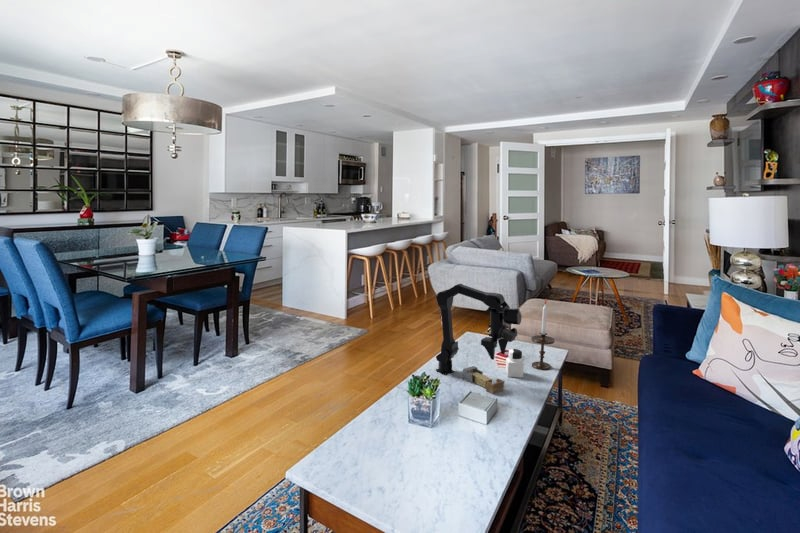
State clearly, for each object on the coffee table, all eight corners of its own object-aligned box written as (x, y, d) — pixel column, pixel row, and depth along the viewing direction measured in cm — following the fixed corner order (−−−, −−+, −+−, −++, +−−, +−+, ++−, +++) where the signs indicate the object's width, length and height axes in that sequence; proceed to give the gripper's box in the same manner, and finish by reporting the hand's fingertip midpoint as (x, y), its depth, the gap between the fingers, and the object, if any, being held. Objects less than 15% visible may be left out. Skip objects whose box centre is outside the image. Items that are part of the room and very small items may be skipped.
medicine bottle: (520, 371, 211) (521, 348, 209) (523, 377, 204) (524, 353, 202) (505, 371, 212) (506, 347, 210) (507, 377, 205) (508, 352, 203)
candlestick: (555, 371, 213) (560, 300, 207) (533, 370, 213) (537, 300, 208) (548, 362, 223) (553, 295, 218) (527, 362, 224) (531, 295, 218)
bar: (465, 377, 203) (465, 371, 202) (472, 376, 205) (472, 369, 204) (485, 388, 192) (485, 381, 191) (492, 386, 194) (492, 379, 193)
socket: (486, 391, 189) (486, 381, 189) (497, 387, 193) (498, 378, 192) (491, 394, 186) (492, 384, 186) (503, 390, 190) (504, 381, 190)
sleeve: (462, 378, 202) (463, 368, 202) (473, 375, 206) (473, 365, 205) (471, 383, 197) (471, 373, 197) (482, 380, 201) (482, 370, 200)
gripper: (503, 329, 181) (503, 366, 182) (523, 320, 194) (524, 354, 196) (479, 326, 188) (480, 361, 190) (501, 317, 202) (501, 350, 204)
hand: (497, 356), depth 195 cm, fingers open, 9 cm apart
